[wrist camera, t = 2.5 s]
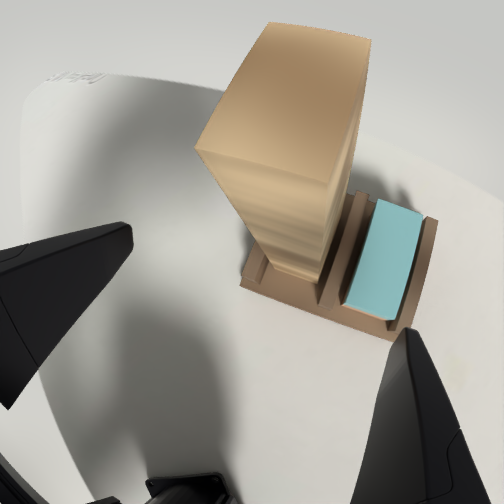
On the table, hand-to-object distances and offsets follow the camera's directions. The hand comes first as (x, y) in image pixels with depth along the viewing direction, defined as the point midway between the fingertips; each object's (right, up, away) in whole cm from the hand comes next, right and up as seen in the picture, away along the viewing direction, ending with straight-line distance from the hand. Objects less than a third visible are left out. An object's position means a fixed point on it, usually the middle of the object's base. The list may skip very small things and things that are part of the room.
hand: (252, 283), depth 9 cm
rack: (+6, +1, +11) cm, 12 cm away
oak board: (+4, +2, +11) cm, 11 cm away
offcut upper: (+7, 0, +8) cm, 11 cm away
